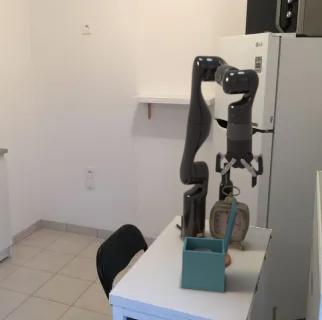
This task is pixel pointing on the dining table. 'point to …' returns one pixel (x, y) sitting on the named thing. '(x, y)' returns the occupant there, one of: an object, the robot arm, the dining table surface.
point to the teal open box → (203, 264)
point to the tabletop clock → (221, 217)
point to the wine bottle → (229, 183)
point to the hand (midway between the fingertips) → (238, 185)
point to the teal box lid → (230, 226)
